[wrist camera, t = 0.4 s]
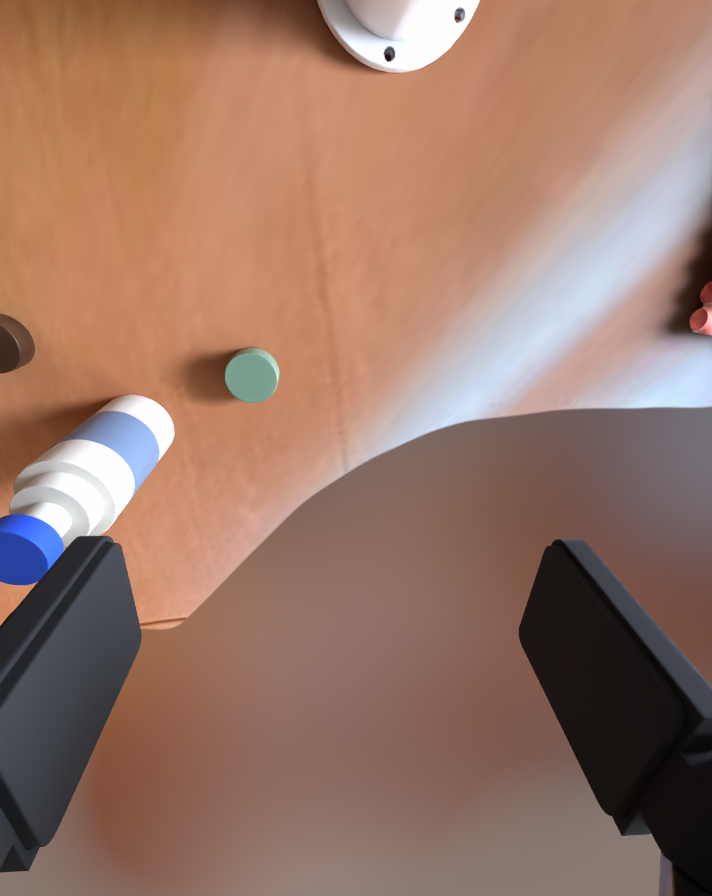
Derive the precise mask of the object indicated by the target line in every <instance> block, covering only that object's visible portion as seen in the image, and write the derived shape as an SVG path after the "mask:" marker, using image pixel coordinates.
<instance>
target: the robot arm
mask: <svg viewBox="0 0 712 896" xmlns="http://www.w3.org/2000/svg"><path fill="white" fill-rule="evenodd" d="M479 1H480V0H317V2H318V5H319V7H320V10H321V13H322V15H323V18H324V20H325V21H326V23H327V25H328V27H329V28H330V30H331V32H332V33H333V35H334V37H335V38H336V39H337V40H338V41H339V43H340V44H341V45H342V46H343V47H344V49H345V50H346V51H347V52H348V53H350V54H351V55H352V56H353V57H355V58H356V59H357V60H358V61H360V62H361V63H363V64H365V65H367V66H369V67H371V68H373V69H376V70H381V71H385V72H390V73H395V72H408V71H412V70H416V69H419V68H422V67H424V66H426V65H427V64H429V63H431V62H433V61H435V60H436V59H437V58H439V57H440V56H441V55H442V54H443V53H444V52H446V51H447V50H448V49H449V48H450V47H451V46H452V44H453V43H454V42H455V41H456V40H457V38H458V37H459V36H460V35H461V33H462V32H463V30H464V29H465V27H466V26H467V24H468V23H469V21H470V19H471V17H472V15H473V13H474V11H475V9H476V7H477V5H478V3H479ZM456 16H457V17H458V18H459V23H457V22H455V20H454V17H456ZM387 54H388V55H390V57H391V60H390V61H386V60H385V55H387ZM519 639H520V642H521V645H522V647H523V649H524V651H525V653H526V655H527V657H528V659H529V661H530V664H531V665H532V667H533V669H534V672H535V674H536V676H537V678H538V680H539V682H540V684H541V686H542V688H543V690H544V692H545V694H546V696H547V698H548V700H549V702H550V704H551V706H552V709H553V710H554V713H555V715H556V717H557V719H558V721H559V723H560V725H561V727H562V729H563V731H564V733H565V735H566V737H567V739H568V741H569V744H570V745H571V748H572V750H573V752H574V754H575V756H576V758H577V760H578V762H579V764H580V766H581V768H582V770H583V772H584V774H585V776H586V778H587V780H588V783H589V784H590V787H591V789H592V791H593V793H594V795H595V797H596V799H597V801H598V803H599V805H600V806H601V808H602V809H603V810H604V812H605V813H606V814H608V815H609V816H612V817H613V819H614V821H615V823H616V825H617V827H618V829H619V831H620V833H621V835H622V836H627V835H644V834H650V833H652V835H653V837H654V839H655V841H656V843H657V845H658V846H659V848H660V850H661V862H660V881H659V896H712V687H711V685H710V684H709V683H708V682H707V681H706V680H705V678H704V677H703V676H702V675H701V674H700V673H699V672H698V670H697V669H696V668H695V667H694V666H693V665H692V664H691V662H690V661H689V660H688V659H687V658H686V657H685V655H684V654H683V653H682V652H681V651H680V650H679V649H678V647H677V646H676V645H675V644H674V643H673V642H672V641H671V639H670V638H669V637H668V636H667V635H666V634H665V632H664V631H663V630H662V629H661V628H660V627H659V625H658V624H657V623H656V622H655V621H654V620H653V619H652V617H651V616H650V615H649V614H648V613H647V612H646V611H645V609H644V608H643V607H642V606H641V605H640V604H639V602H638V601H637V600H636V599H635V598H634V597H633V596H632V595H631V593H630V592H629V591H628V590H627V589H626V588H625V586H624V585H623V584H622V583H621V582H620V581H619V580H618V578H617V577H616V576H615V575H614V574H613V572H612V571H611V570H610V569H609V568H608V567H607V566H606V565H605V563H604V562H603V561H602V560H601V559H600V558H599V556H598V555H597V554H596V553H595V552H594V551H593V549H592V548H591V547H590V546H589V545H588V544H587V543H586V542H585V541H583V540H580V539H558V540H555V541H553V543H552V545H551V546H547V547H546V549H545V551H544V554H543V557H542V560H541V563H540V566H539V569H538V572H537V575H536V578H535V581H534V584H533V587H532V590H531V593H530V596H529V599H528V602H527V605H526V608H525V611H524V614H523V618H522V621H521V624H520V627H519ZM140 644H141V629H140V624H139V620H138V616H137V611H136V607H135V603H134V598H133V594H132V590H131V585H130V581H129V577H128V572H127V568H126V564H125V559H124V555H123V551H122V547H121V545H120V544H118V543H114V542H113V539H112V538H111V537H109V536H79V537H76V538H75V539H74V540H73V541H72V542H71V544H70V545H69V546H68V547H67V548H66V550H65V551H64V552H63V553H62V554H61V555H60V557H59V558H58V559H57V560H56V561H55V563H54V564H53V565H52V566H51V567H50V569H49V570H48V571H47V572H46V573H45V575H44V576H43V577H42V578H41V579H40V581H39V582H38V583H37V584H36V585H35V586H34V588H33V589H32V590H31V591H30V592H29V594H28V595H27V596H26V597H25V598H24V600H23V601H22V602H21V603H20V604H19V606H18V607H17V608H16V609H15V610H14V611H13V612H12V613H11V614H10V615H9V616H8V617H7V619H6V620H5V621H4V622H3V623H2V625H1V626H0V872H15V871H29V869H30V867H31V865H32V863H33V860H34V858H35V856H36V854H37V852H38V850H39V848H40V847H44V846H46V845H47V844H48V843H49V842H50V841H51V840H52V838H53V837H54V835H55V833H56V831H57V829H58V827H59V825H60V822H61V820H62V818H63V816H64V814H65V812H66V809H67V807H68V805H69V803H70V801H71V798H72V796H73V794H74V792H75V790H76V787H77V785H78V783H79V781H80V778H81V776H82V774H83V772H84V770H85V768H86V765H87V763H88V761H89V759H90V756H91V754H92V752H93V750H94V748H95V745H96V743H97V741H98V739H99V737H100V734H101V732H102V730H103V728H104V726H105V723H106V721H107V719H108V717H109V714H110V712H111V710H112V708H113V706H114V703H115V701H116V699H117V697H118V695H119V692H120V690H121V688H122V686H123V684H124V681H125V679H126V677H127V675H128V673H129V671H130V668H131V666H132V664H133V662H134V659H135V657H136V655H137V653H138V650H139V647H140Z"/></svg>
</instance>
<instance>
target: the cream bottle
mask: <svg viewBox="0 0 712 896" xmlns="http://www.w3.org/2000/svg"><path fill="white" fill-rule="evenodd" d="M173 437H174V427H173V423H172V420H171V418H170V416H169V415H168V413H167V412H166V411H165V409H164V408H163V407H162V406H160V405H159V404H158V403H156V402H155V401H153V400H151V399H149V398H147V397H144V396H140V395H123V396H119V397H117V398H115V399H113V400H112V401H110V402H109V403H108V404H106V405H105V406H104V407H103V408H101V409H100V410H99V411H98V412H96V413H95V414H94V415H92V416H90V417H89V418H88V419H86V420H85V421H84V422H82V423H81V424H80V425H79V426H77V427H76V428H75V429H73V430H72V431H71V432H70V433H68V434H67V435H66V436H64V437H63V438H62V439H61V440H59V441H58V442H57V443H55V444H54V445H53V446H52V447H50V448H49V449H48V451H46V452H45V453H44V454H42V455H41V456H40V457H39V458H37V459H36V460H35V461H33V462H32V463H31V464H30V465H28V466H27V467H26V468H25V469H23V470H22V471H21V472H20V473H19V475H18V476H17V478H16V480H15V483H14V496H13V497H12V499H11V501H10V504H9V513H10V515H7V516H4V517H2V518H0V581H1V582H4V583H7V584H12V585H29V584H33V583H36V582H38V581H40V579H41V578H42V577H43V576H44V575H45V573H46V572H47V571H48V570H49V569H50V567H51V566H52V565H53V564H54V563H55V561H56V560H57V559H58V558H59V557H60V555H61V554H62V553H63V550H64V547H68V546H69V545H70V544H71V542H72V541H73V540H74V539H75V538H76V537H79V536H98V535H100V534H102V533H103V532H105V531H106V530H107V529H108V528H109V527H110V526H111V525H112V524H113V522H114V521H115V520H116V518H117V517H118V515H119V514H120V513H121V511H122V510H123V509H124V507H125V506H126V505H127V504H128V503H129V502H130V500H131V499H132V497H133V496H134V495H135V493H136V492H137V491H138V489H139V488H140V486H141V485H142V484H143V482H144V481H145V480H146V478H147V477H148V476H149V474H150V473H151V471H152V470H153V469H154V467H155V466H156V464H157V462H158V461H159V460H160V458H161V457H162V456H163V454H164V453H165V451H166V450H167V449H168V447H169V446H170V445H171V443H172V441H173Z"/></svg>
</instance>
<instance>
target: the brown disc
mask: <svg viewBox="0 0 712 896" xmlns="http://www.w3.org/2000/svg"><path fill="white" fill-rule="evenodd" d="M34 351H35V346H34V342H33V339H32V337H31V335H30V333H29V332H28V330H27V329H26V328H25V327H24V326H23V325H22V324H21V323H19V322H18V321H17V320H15V319H13V318H11V317H9V316H6V315H3V314H0V373H7V372H10V371H12V370H15V369H17V368H19V367H21V366H24V365H26V364H27V363H29V362H30V361H31V359H32V358H33V356H34Z"/></svg>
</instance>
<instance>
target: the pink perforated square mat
mask: <svg viewBox="0 0 712 896" xmlns="http://www.w3.org/2000/svg"><path fill="white" fill-rule="evenodd" d="M700 299H701V301H702V302H703V303H704V305H703V307H702V308H701V309H698V310H696V311H695V312H694V313H693V314H692V316H691V318H690V327H691V328H692V329H693V332H695V333H700V334H706V335H712V281H711V282H709V283H707V284H706V285H705V286H704V287H703V289H702V291H701V294H700Z"/></svg>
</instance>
